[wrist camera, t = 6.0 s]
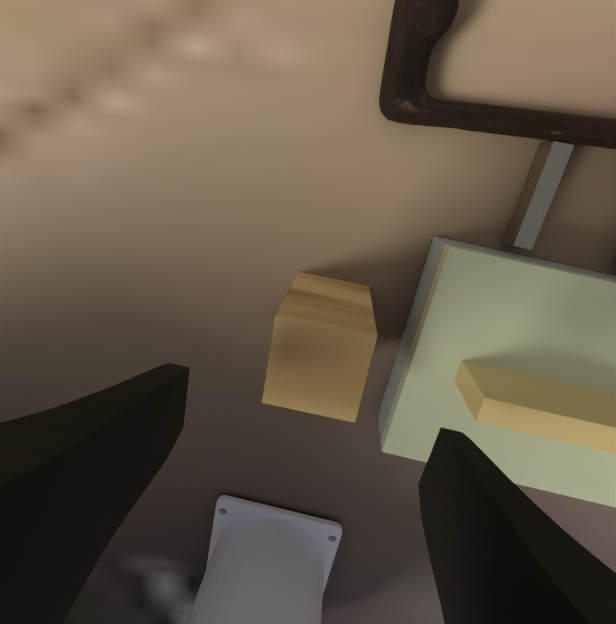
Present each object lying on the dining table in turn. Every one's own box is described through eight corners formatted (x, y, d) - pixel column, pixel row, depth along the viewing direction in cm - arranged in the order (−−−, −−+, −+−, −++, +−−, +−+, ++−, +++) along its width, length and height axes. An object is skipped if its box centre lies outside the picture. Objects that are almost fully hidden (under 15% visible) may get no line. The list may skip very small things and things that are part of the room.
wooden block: (353, 348, 20) (354, 422, 14) (288, 335, 20) (261, 402, 14) (369, 285, 19) (377, 335, 13) (299, 272, 19) (275, 315, 13)
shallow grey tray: (593, 465, 21) (621, 496, 19) (377, 414, 21) (380, 439, 19) (693, 292, 17) (740, 307, 15) (433, 235, 18) (444, 243, 16)
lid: (622, 498, 19) (687, 574, 15) (380, 441, 19) (387, 501, 15) (742, 308, 15) (863, 348, 12) (444, 243, 16) (473, 262, 12)
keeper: (629, 269, 17) (649, 275, 16) (502, 241, 17) (513, 245, 16) (678, 172, 16) (703, 172, 15) (539, 143, 16) (554, 140, 15)
